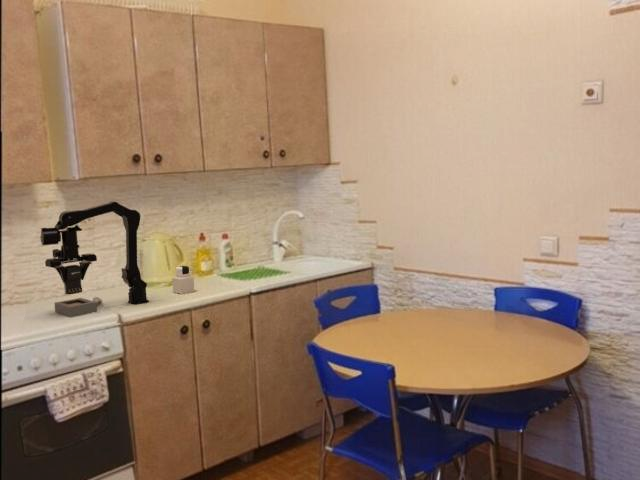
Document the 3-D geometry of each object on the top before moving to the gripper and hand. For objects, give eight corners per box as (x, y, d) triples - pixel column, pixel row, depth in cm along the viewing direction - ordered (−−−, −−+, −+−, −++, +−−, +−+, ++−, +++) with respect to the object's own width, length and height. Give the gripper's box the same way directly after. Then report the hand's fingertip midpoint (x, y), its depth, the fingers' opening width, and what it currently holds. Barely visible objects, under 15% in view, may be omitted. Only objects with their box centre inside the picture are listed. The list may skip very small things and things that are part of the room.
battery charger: (69, 295, 242) (66, 267, 240) (63, 294, 244) (61, 266, 243) (85, 292, 247) (82, 264, 246) (79, 291, 250) (77, 263, 248)
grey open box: (81, 307, 255) (80, 297, 255) (97, 311, 246) (96, 302, 245) (55, 312, 247) (54, 302, 247) (70, 317, 238) (69, 307, 237)
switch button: (78, 308, 250) (78, 302, 250) (85, 309, 246) (84, 304, 246) (66, 310, 247) (66, 304, 246) (73, 312, 243) (72, 306, 242)
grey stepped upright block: (186, 290, 284) (184, 264, 283) (194, 291, 279) (193, 265, 278) (172, 292, 279) (171, 266, 278) (181, 294, 274) (179, 268, 273)
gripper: (83, 239, 255) (86, 275, 257) (38, 244, 242) (41, 283, 244) (95, 240, 248) (99, 278, 249) (49, 246, 234) (53, 286, 236)
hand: (73, 281), depth 245 cm, fingers closed on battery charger, 7 cm apart
